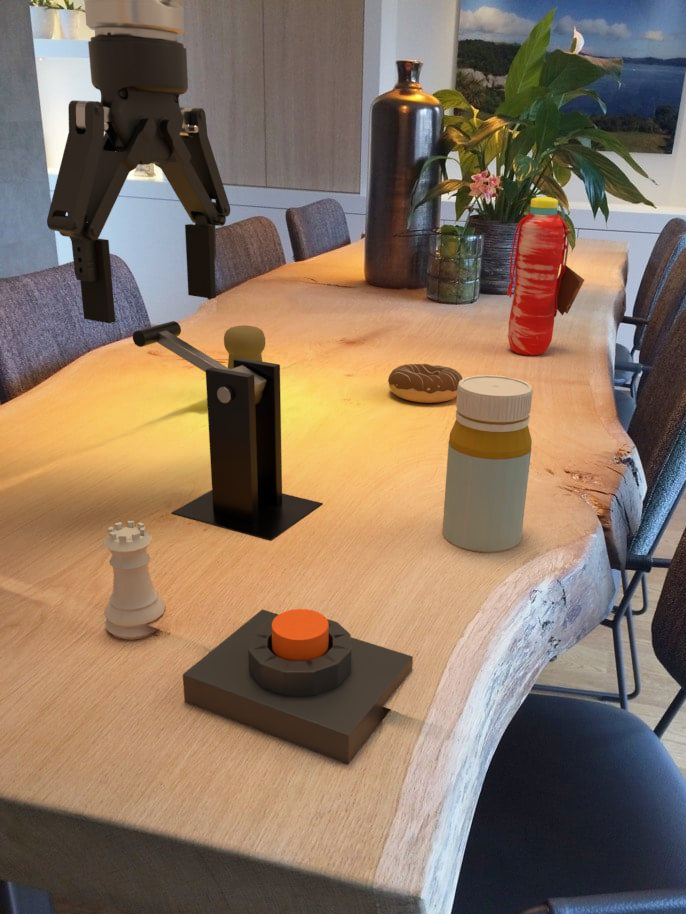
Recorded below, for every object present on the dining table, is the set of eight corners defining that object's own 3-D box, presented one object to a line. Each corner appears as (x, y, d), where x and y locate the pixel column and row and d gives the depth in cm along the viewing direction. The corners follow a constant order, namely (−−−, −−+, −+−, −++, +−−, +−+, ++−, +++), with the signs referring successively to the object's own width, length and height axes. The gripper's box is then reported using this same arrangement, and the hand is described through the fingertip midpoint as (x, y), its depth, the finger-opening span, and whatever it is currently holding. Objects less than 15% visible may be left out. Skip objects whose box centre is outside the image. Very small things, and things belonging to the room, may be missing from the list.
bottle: (457, 523, 79) (469, 369, 73) (529, 539, 76) (547, 381, 70) (429, 553, 73) (440, 389, 67) (505, 572, 70) (523, 402, 64)
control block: (184, 702, 53) (180, 650, 52) (262, 634, 61) (261, 587, 59) (348, 765, 48) (349, 710, 47) (411, 683, 56) (414, 633, 54)
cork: (213, 412, 107) (209, 327, 103) (245, 401, 112) (243, 319, 107) (248, 421, 104) (245, 334, 100) (280, 410, 109) (278, 326, 104)
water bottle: (565, 347, 146) (585, 196, 136) (577, 358, 139) (598, 200, 128) (498, 345, 146) (512, 194, 135) (505, 356, 138) (521, 198, 128)
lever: (129, 347, 74) (134, 323, 73) (166, 336, 78) (172, 313, 77) (236, 413, 71) (243, 389, 70) (268, 399, 75) (276, 376, 74)
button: (260, 652, 52) (260, 629, 52) (291, 625, 55) (291, 603, 55) (309, 669, 51) (310, 645, 50) (338, 640, 54) (338, 617, 53)
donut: (394, 407, 111) (395, 378, 109) (381, 385, 121) (382, 358, 119) (471, 406, 113) (473, 377, 111) (452, 384, 122) (454, 357, 121)
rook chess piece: (152, 646, 59) (143, 546, 56) (94, 638, 60) (81, 539, 56) (177, 613, 63) (169, 518, 60) (122, 606, 64) (111, 512, 60)
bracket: (171, 525, 77) (159, 369, 71) (229, 491, 84) (222, 347, 78) (271, 553, 72) (267, 389, 66) (323, 515, 80) (323, 364, 74)
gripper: (50, 15, 54) (83, 339, 62) (265, 52, 74) (267, 292, 83) (-31, 16, 57) (11, 325, 65) (197, 52, 77) (206, 283, 86)
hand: (154, 308), depth 74 cm, fingers open, 13 cm apart
